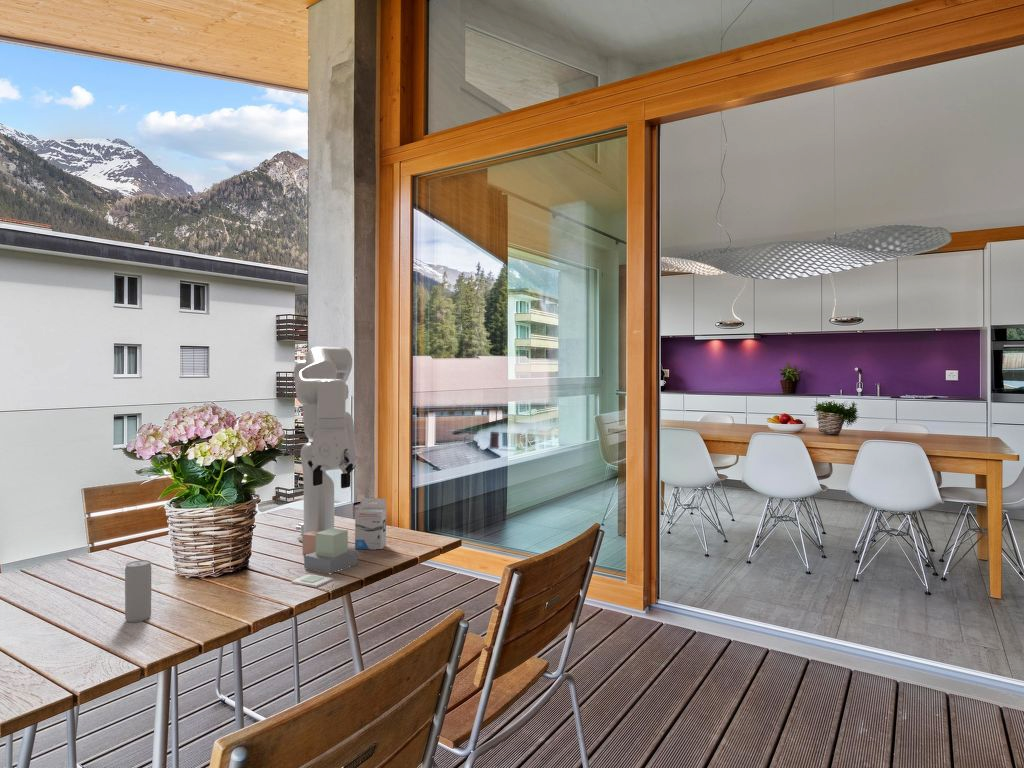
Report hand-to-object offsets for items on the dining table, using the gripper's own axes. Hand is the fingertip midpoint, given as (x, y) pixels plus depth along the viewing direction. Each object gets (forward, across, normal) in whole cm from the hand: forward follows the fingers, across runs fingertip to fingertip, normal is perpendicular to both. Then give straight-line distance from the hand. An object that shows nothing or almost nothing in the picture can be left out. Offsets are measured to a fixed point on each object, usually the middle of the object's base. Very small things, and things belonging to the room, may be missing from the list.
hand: (331, 486), depth 166 cm
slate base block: (+23, 0, 0) cm, 23 cm away
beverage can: (+22, -13, -46) cm, 53 cm away
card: (+22, +4, -12) cm, 26 cm away
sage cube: (+19, 0, 0) cm, 19 cm away
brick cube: (+22, -13, +9) cm, 27 cm away
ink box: (+22, -2, +20) cm, 30 cm away
